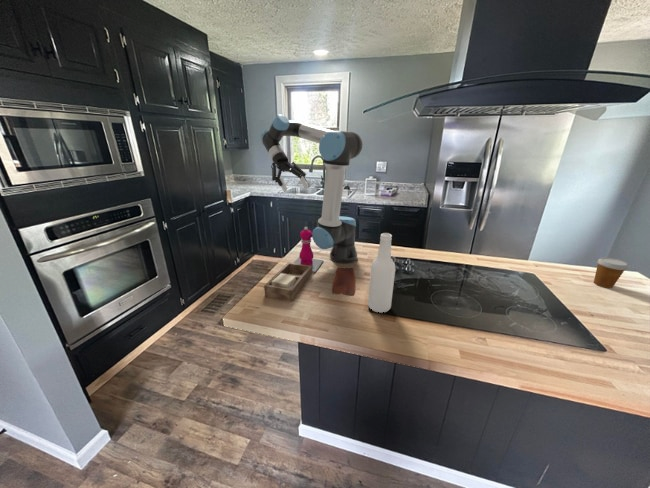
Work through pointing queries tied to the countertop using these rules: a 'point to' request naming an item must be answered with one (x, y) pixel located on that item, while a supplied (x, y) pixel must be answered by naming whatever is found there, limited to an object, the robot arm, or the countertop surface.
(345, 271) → the wooden tablet
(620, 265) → the disposable coffee cup
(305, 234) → the pepper mill
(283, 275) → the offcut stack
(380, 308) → the alcohol
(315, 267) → the slate tile
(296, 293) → the tray
